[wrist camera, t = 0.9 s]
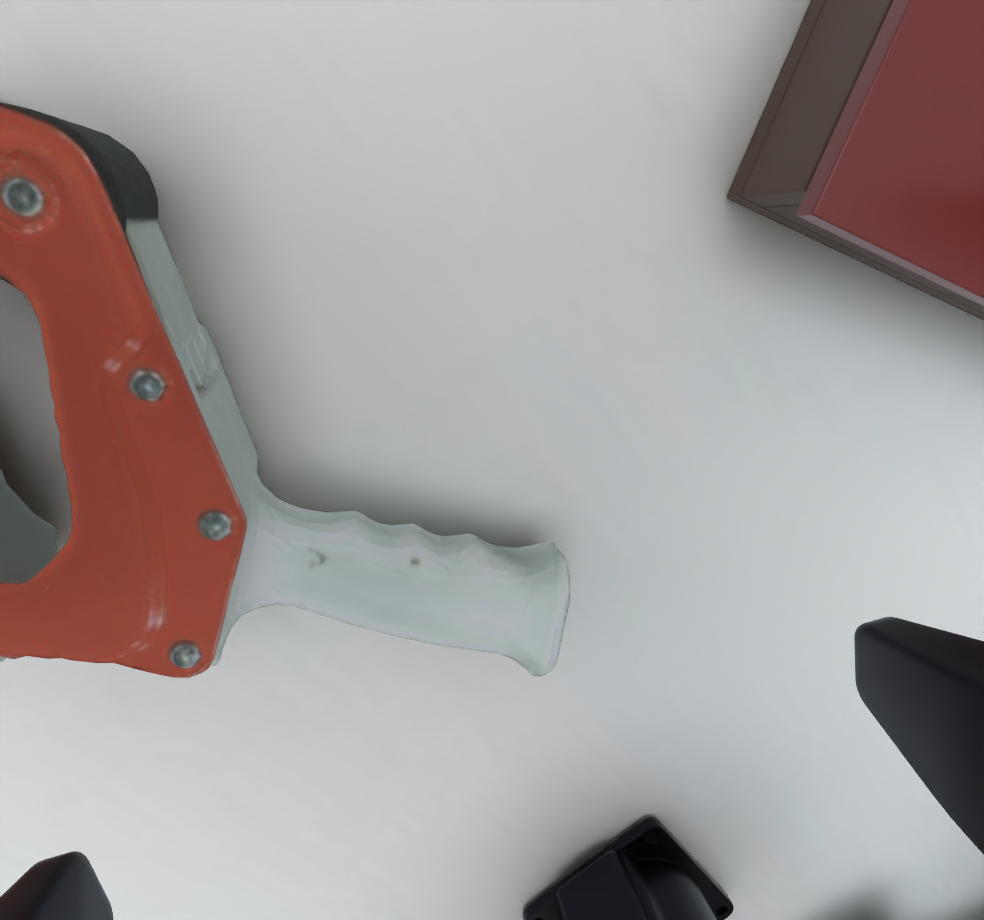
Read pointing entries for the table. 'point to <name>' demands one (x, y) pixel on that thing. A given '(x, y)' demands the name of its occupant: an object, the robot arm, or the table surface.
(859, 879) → the table surface
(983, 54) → the cover
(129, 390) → the tape dispenser
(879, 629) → the robot arm
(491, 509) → the table surface
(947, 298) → the hinged lid box
